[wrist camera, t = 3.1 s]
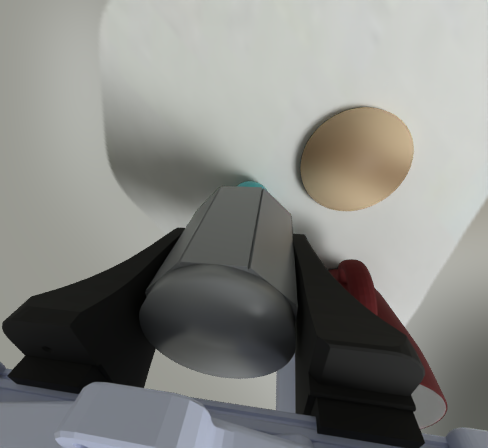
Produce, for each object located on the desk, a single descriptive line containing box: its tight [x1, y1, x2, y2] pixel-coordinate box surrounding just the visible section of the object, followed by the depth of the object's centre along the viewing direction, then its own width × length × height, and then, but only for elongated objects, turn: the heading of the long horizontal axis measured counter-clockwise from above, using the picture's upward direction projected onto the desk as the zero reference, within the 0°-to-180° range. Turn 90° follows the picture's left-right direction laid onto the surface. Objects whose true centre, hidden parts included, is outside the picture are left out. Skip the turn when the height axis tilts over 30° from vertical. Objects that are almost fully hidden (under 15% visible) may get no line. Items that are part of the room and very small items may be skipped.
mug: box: [328, 259, 447, 429], centre depth 17 cm, size 10×8×10 cm
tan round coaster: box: [300, 107, 414, 211], centre depth 16 cm, size 7×7×1 cm
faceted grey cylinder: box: [139, 186, 298, 379], centre depth 11 cm, size 6×6×7 cm
